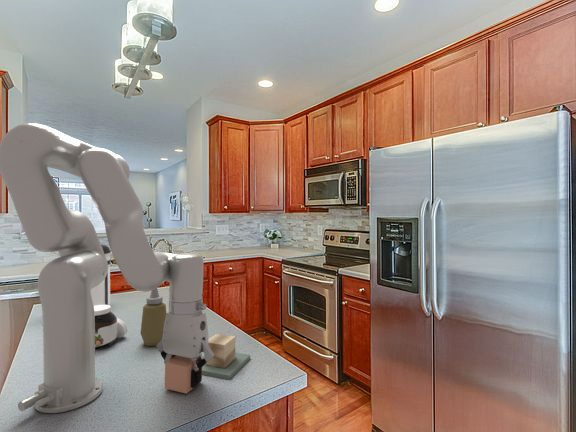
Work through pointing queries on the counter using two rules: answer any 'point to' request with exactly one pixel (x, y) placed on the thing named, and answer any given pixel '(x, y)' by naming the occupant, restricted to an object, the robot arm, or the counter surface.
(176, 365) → the terracotta block
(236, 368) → the plate
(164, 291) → the counter surface
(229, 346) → the maple block
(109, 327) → the spread jar
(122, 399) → the counter surface
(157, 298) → the squeeze bottle
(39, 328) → the counter surface
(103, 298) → the coffee press
